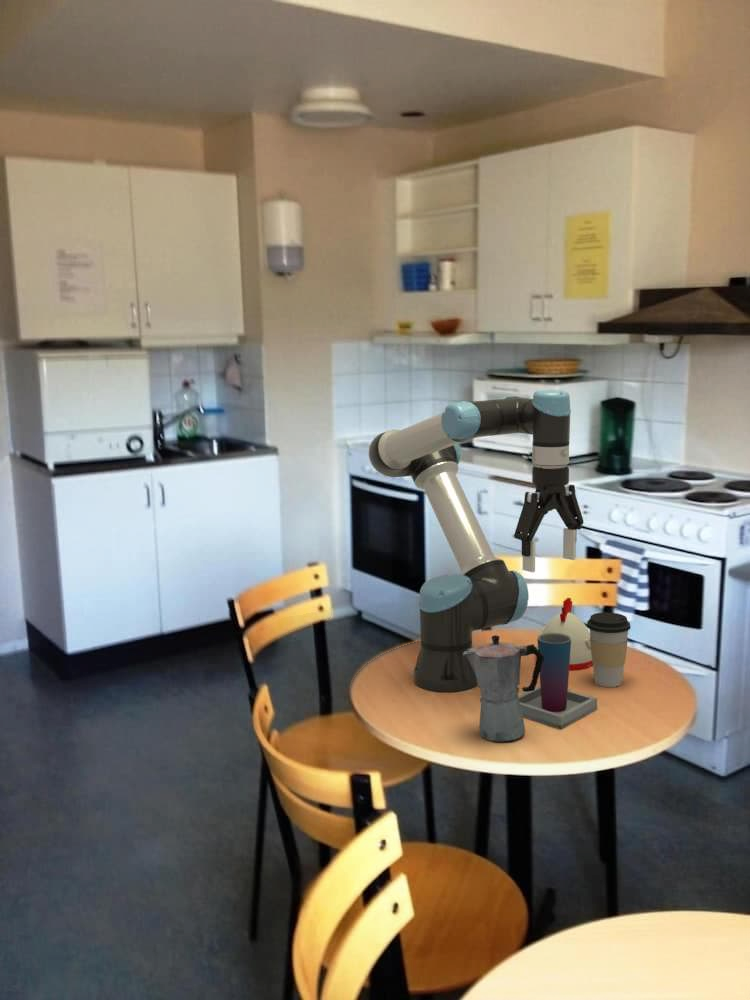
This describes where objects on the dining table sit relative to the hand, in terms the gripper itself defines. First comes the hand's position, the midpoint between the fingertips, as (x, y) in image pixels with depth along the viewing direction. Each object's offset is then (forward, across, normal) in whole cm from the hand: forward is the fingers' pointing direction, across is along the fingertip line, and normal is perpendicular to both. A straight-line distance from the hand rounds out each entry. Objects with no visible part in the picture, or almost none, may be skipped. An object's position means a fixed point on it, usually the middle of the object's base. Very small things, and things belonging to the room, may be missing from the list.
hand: (549, 564), depth 198 cm
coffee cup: (+29, +14, -6) cm, 33 cm away
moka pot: (+29, -22, -7) cm, 37 cm away
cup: (+28, -7, -7) cm, 30 cm away
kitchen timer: (+29, +19, +10) cm, 36 cm away
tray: (+29, -7, -7) cm, 30 cm away
